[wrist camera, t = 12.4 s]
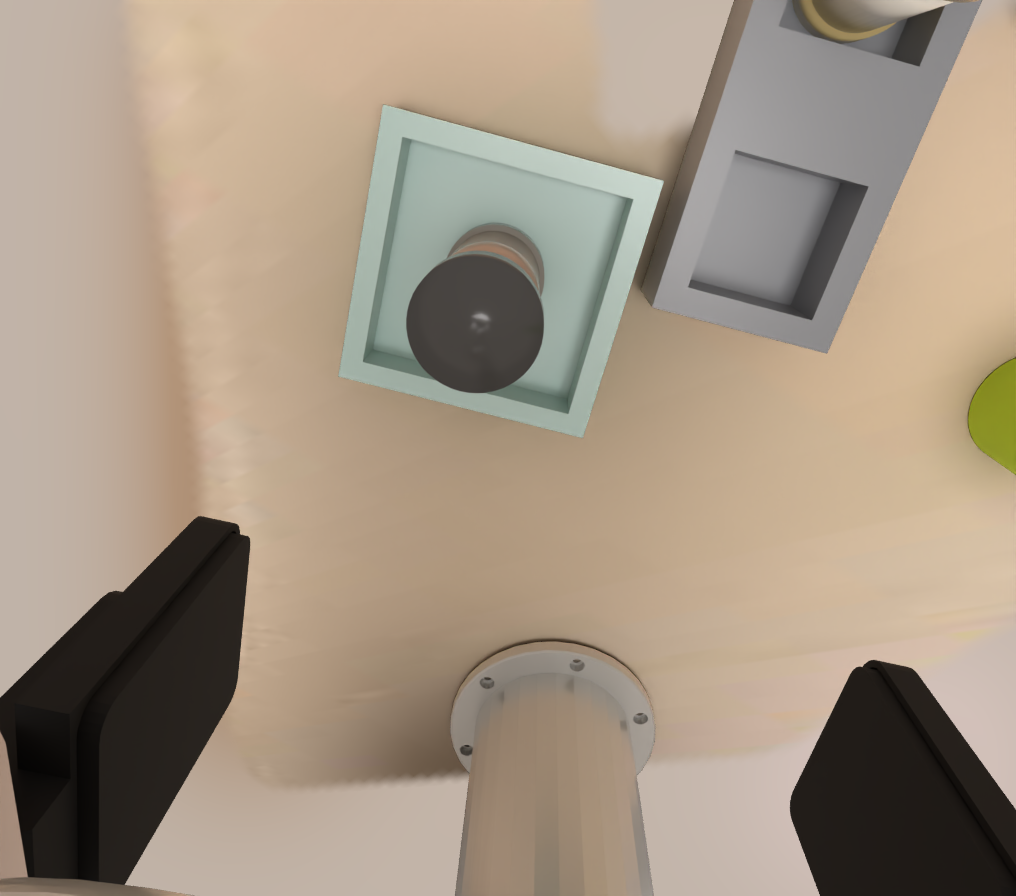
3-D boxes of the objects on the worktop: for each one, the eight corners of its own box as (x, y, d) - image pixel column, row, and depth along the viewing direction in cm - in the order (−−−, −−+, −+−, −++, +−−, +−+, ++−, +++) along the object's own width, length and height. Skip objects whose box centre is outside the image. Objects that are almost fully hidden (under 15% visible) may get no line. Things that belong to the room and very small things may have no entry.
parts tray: (580, 416, 38) (582, 438, 35) (353, 359, 37) (338, 376, 34) (654, 177, 33) (663, 181, 30) (397, 107, 32) (383, 104, 30)
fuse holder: (797, 331, 35) (827, 353, 32) (640, 290, 35) (651, 307, 31) (979, -104, 29) (1044, -141, 25) (786, -163, 28) (822, -209, 24)
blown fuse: (530, 331, 35) (524, 407, 25) (438, 307, 35) (394, 374, 25) (555, 236, 34) (560, 277, 23) (458, 211, 33) (421, 240, 23)
